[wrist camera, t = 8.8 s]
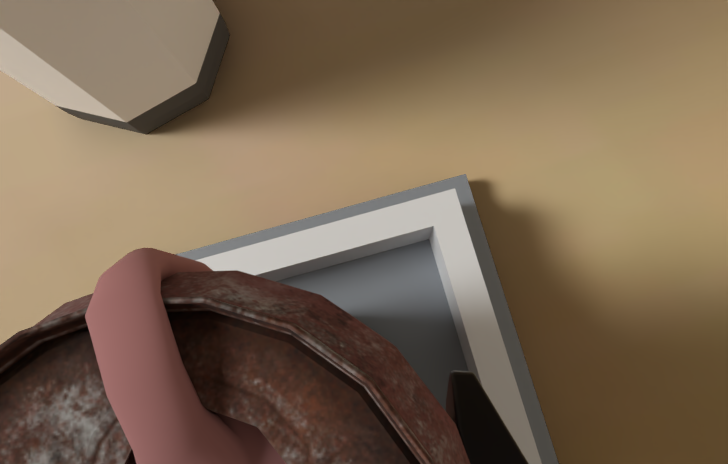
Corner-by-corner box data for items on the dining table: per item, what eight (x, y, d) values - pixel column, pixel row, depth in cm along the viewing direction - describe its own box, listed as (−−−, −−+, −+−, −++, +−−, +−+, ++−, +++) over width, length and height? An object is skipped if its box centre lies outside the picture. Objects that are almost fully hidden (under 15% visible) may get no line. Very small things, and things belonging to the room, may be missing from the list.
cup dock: (573, 531, 17) (617, 582, 14) (212, 627, 18) (167, 700, 14) (462, 181, 20) (475, 151, 16) (146, 269, 20) (94, 257, 17)
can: (376, 285, 18) (365, 139, 5) (437, 463, 17) (670, 983, 3) (217, 340, 18) (-289, 355, 4) (266, 524, 17) (-226, 1342, 3)
